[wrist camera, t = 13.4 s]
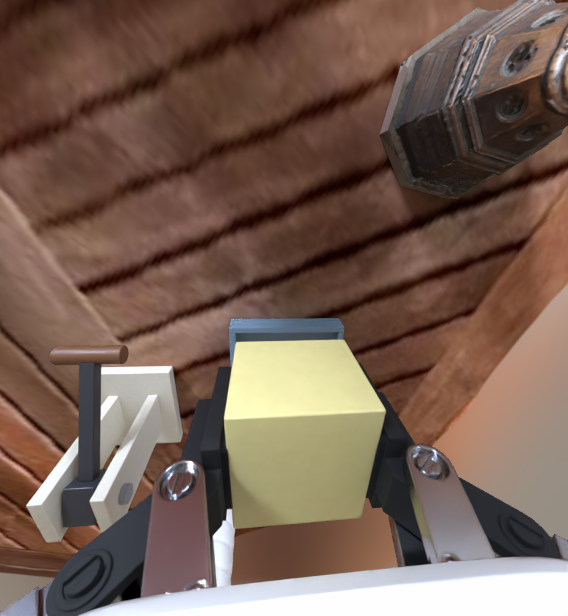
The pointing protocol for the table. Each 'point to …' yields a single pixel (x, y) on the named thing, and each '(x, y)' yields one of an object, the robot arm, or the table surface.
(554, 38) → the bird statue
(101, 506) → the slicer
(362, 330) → the table surface
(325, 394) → the butter
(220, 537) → the water bottle
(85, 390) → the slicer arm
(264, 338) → the dish
